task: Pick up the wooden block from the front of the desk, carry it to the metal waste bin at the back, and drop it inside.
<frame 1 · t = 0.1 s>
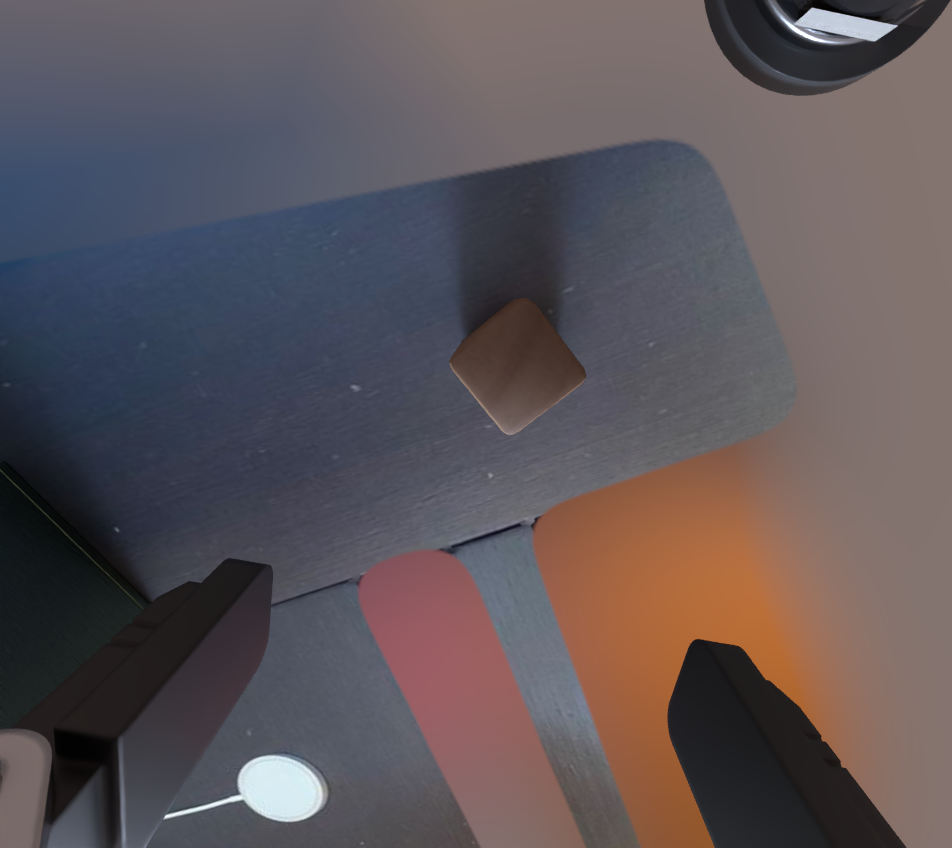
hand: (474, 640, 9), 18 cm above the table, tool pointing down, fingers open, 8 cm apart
wooden block: (509, 349, 26), on the table
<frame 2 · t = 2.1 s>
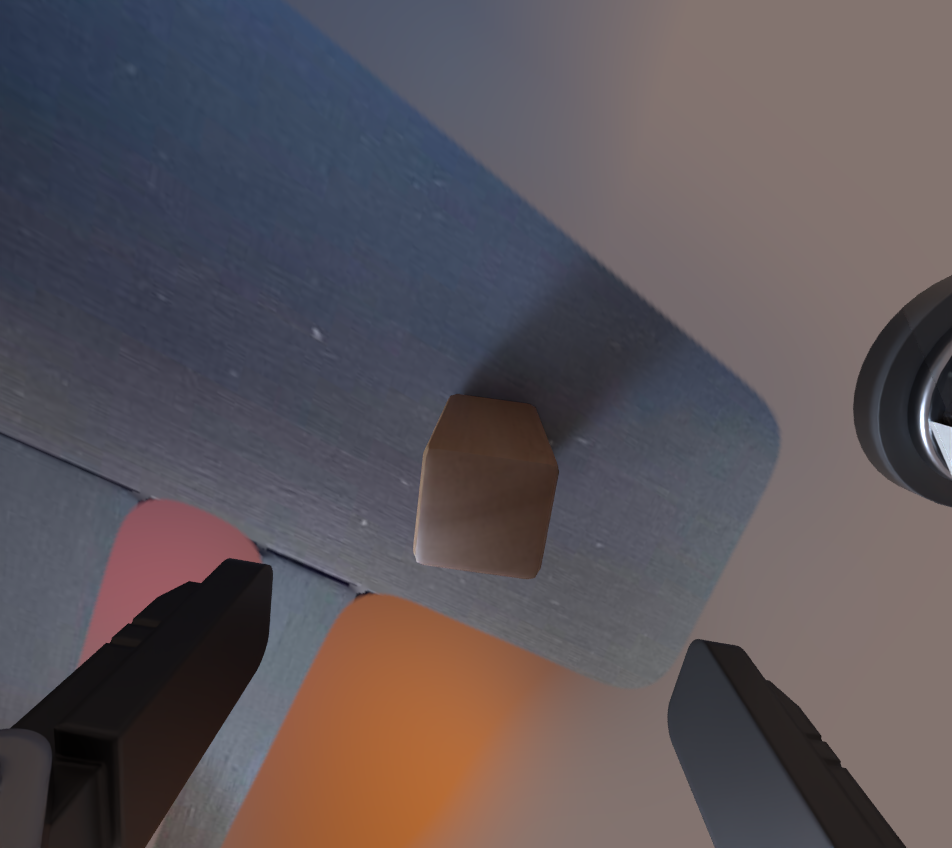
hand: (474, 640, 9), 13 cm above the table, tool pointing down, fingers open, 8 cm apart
wooden block: (487, 438, 22), on the table
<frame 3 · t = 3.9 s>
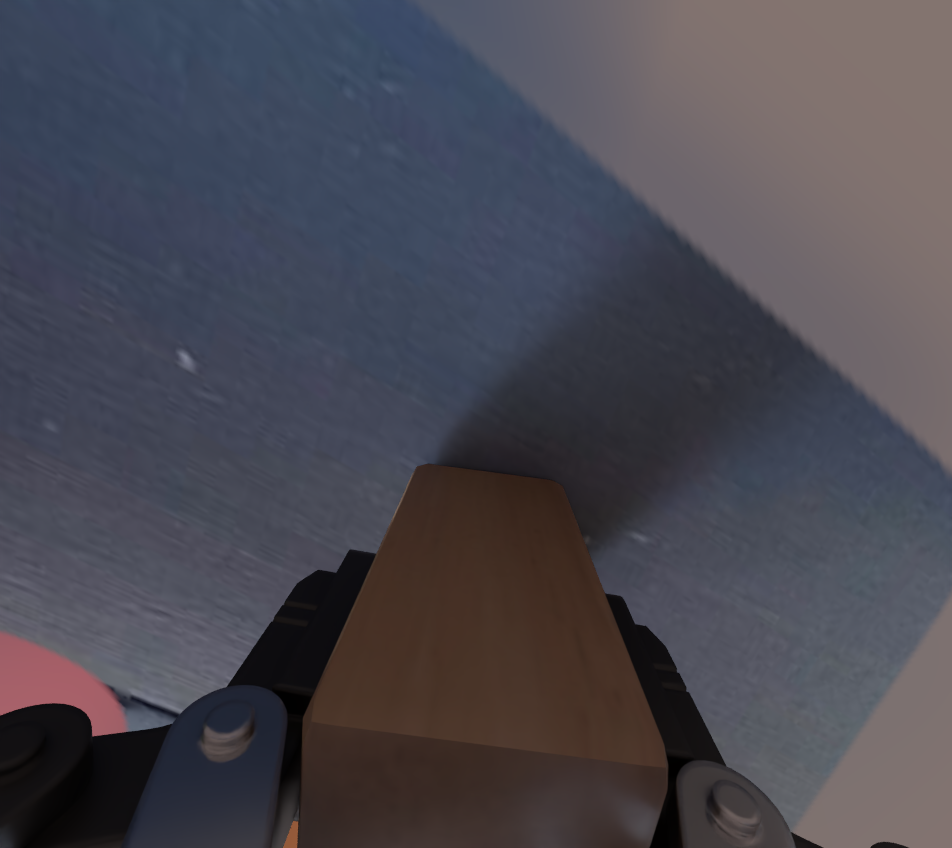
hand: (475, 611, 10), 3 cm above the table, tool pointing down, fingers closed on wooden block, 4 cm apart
wooden block: (480, 531, 13), on the table, touching gripper
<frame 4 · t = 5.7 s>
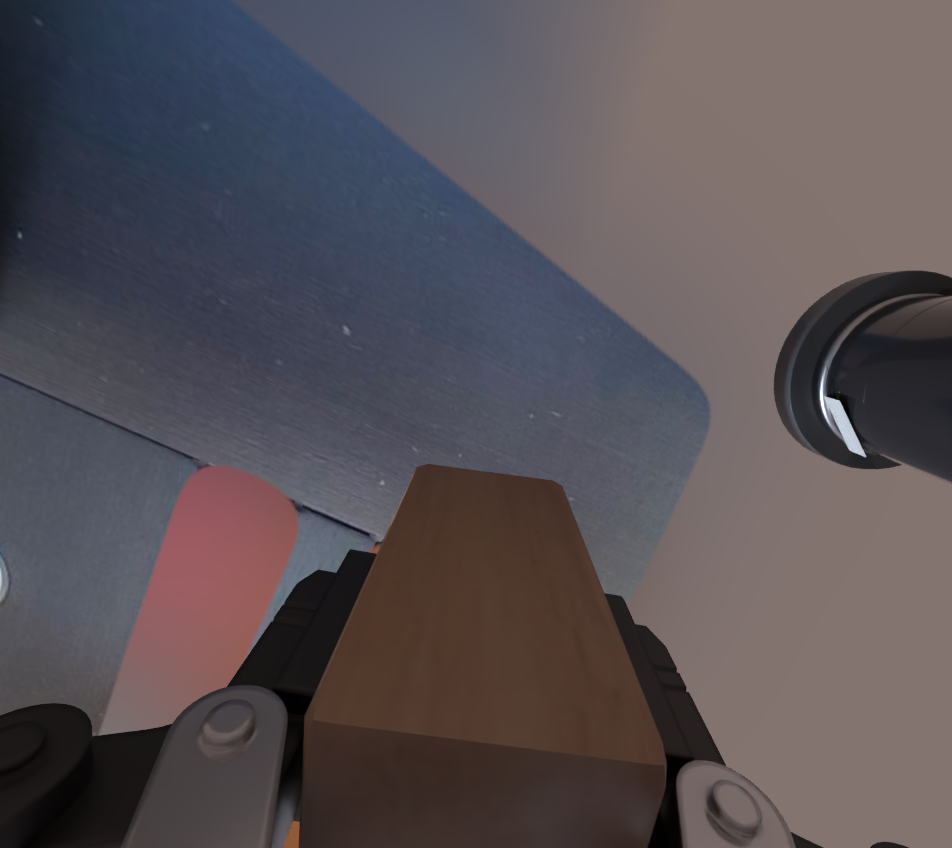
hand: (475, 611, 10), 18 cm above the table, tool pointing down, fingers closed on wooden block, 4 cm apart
wooden block: (480, 531, 13), point 14 cm above the table, touching gripper
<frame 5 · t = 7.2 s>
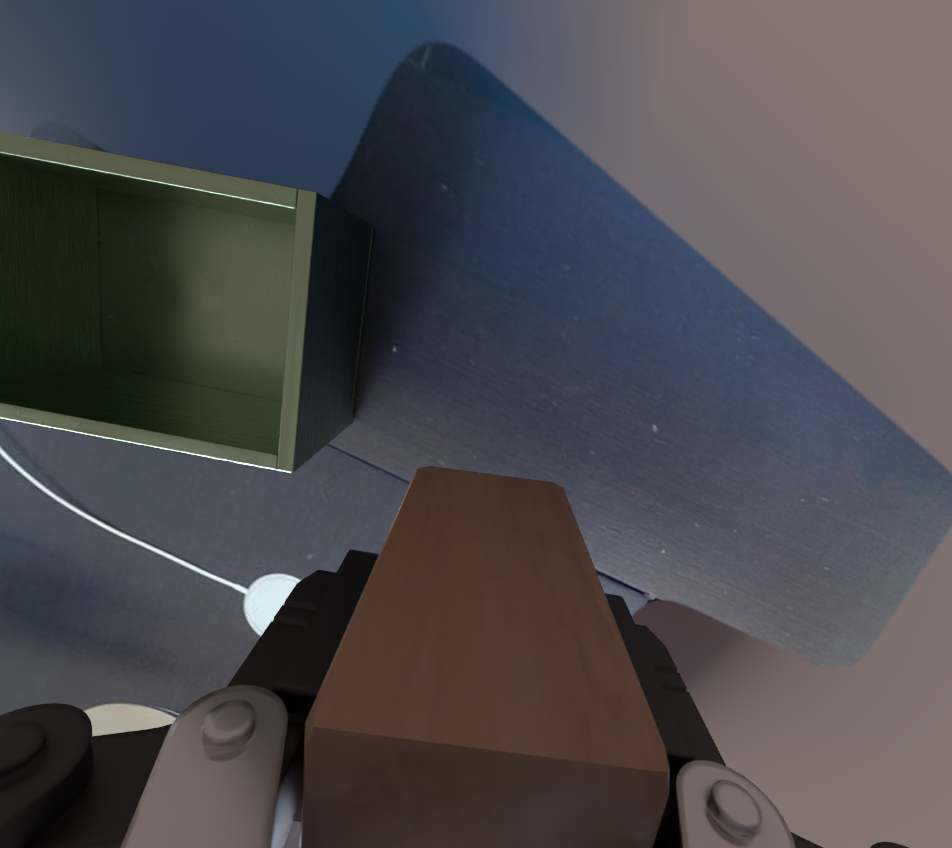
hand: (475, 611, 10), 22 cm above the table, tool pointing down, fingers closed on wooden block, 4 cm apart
waste bin: (229, 305, 30), on the table
wooden block: (481, 533, 13), point 18 cm above the table, touching gripper
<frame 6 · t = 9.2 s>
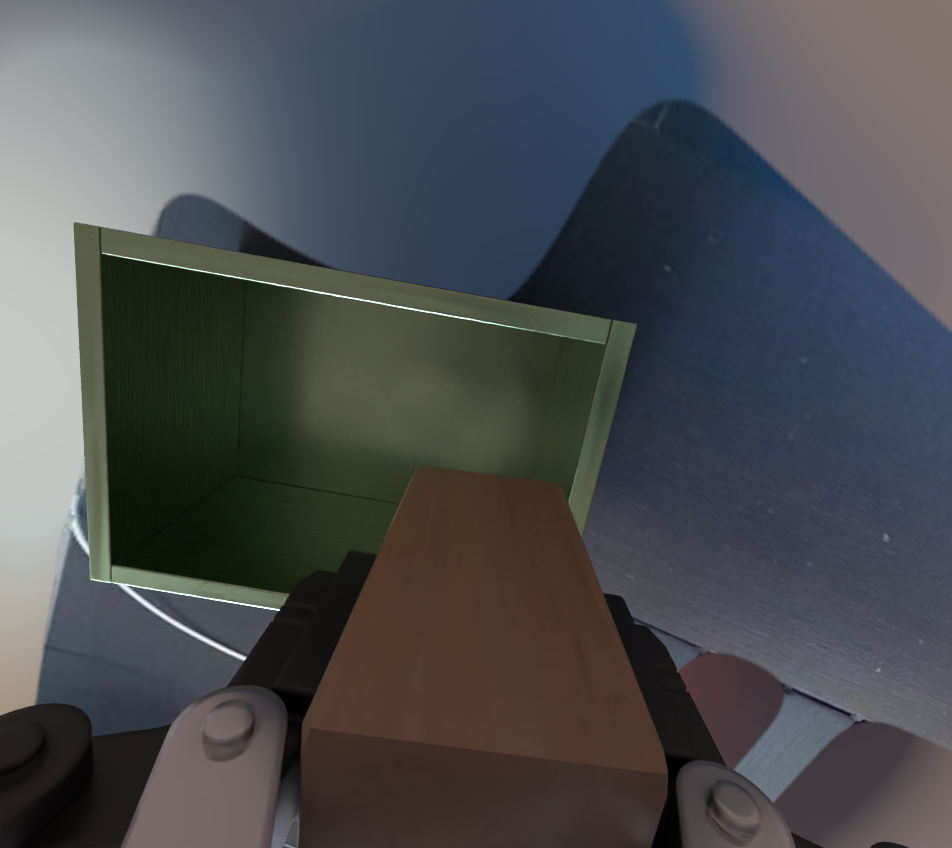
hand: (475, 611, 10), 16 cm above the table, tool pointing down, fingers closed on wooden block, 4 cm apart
waste bin: (393, 403, 25), on the table
wooden block: (480, 533, 13), point 13 cm above the table, touching gripper
when the fingers open (13 cm above the table, at t = 10.5 s): wooden block drops 9 cm, resting on waste bin.
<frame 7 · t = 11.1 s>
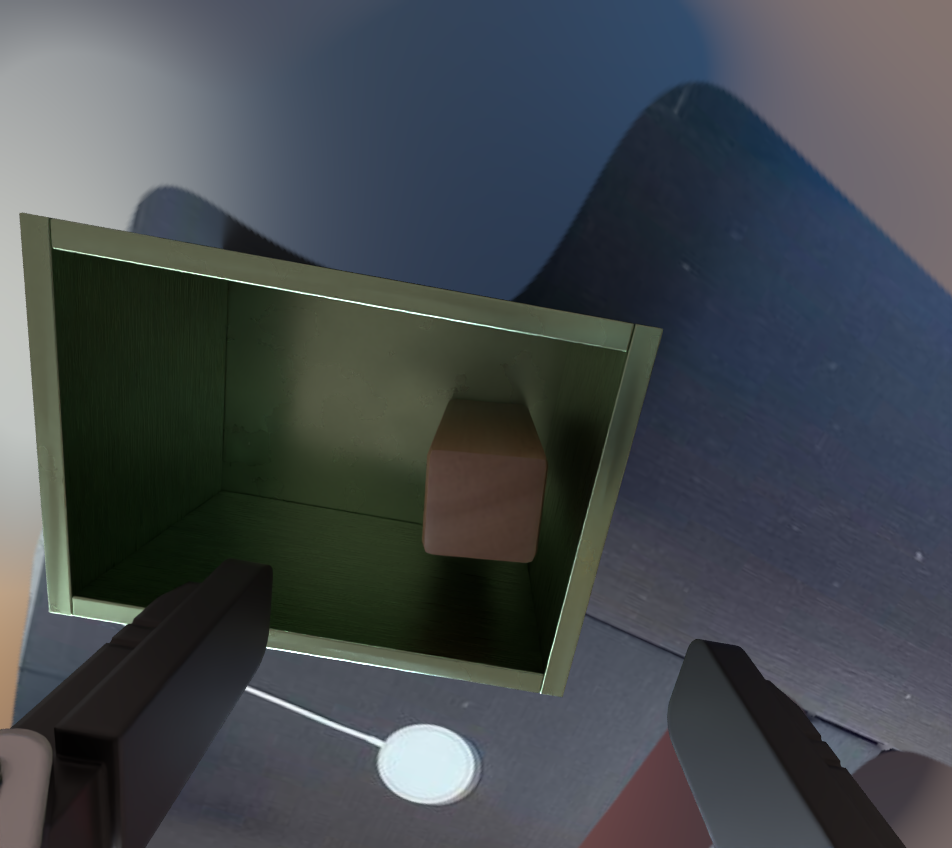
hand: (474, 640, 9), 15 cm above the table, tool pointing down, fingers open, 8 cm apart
waste bin: (389, 412, 23), on the table
wooden block: (485, 438, 23), resting on waste bin
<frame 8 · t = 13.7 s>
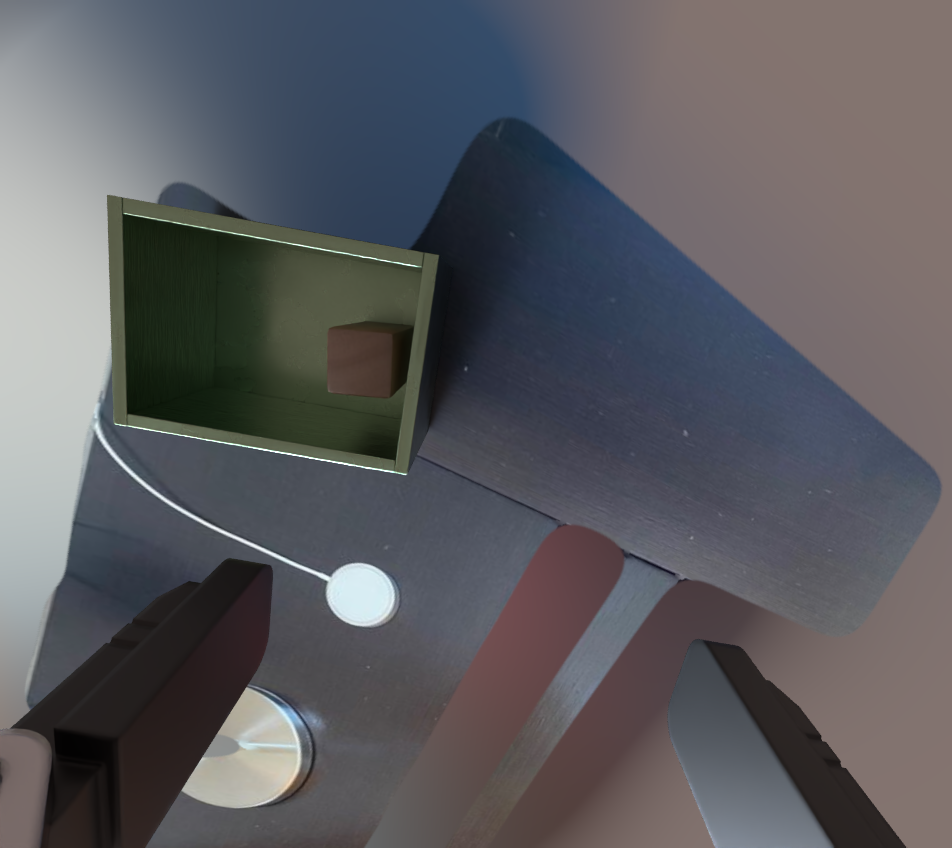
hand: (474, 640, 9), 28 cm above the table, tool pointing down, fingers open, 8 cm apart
waste bin: (325, 332, 35), on the table
wooden block: (388, 349, 35), resting on waste bin
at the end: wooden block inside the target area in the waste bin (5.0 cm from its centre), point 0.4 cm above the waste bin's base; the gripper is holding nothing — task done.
